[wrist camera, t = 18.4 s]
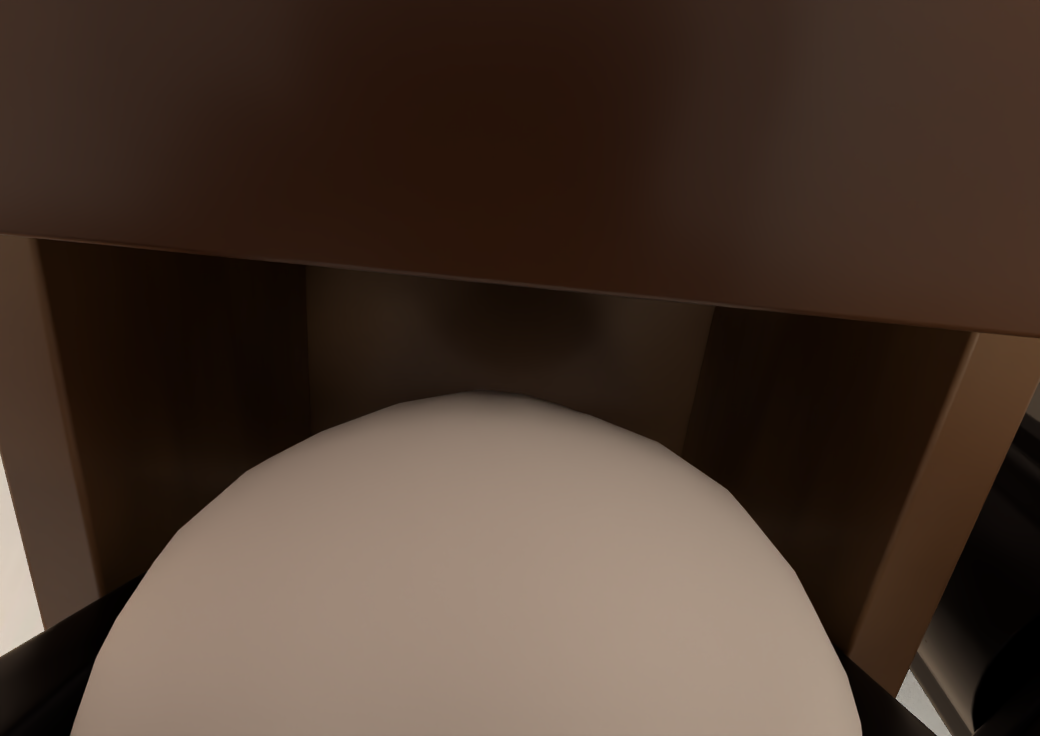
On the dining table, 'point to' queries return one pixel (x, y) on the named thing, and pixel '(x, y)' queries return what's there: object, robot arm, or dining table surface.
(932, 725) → the dining table surface
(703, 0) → the cabinet
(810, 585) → the drawer
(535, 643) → the plain white apple
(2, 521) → the dining table surface
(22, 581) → the dining table surface
